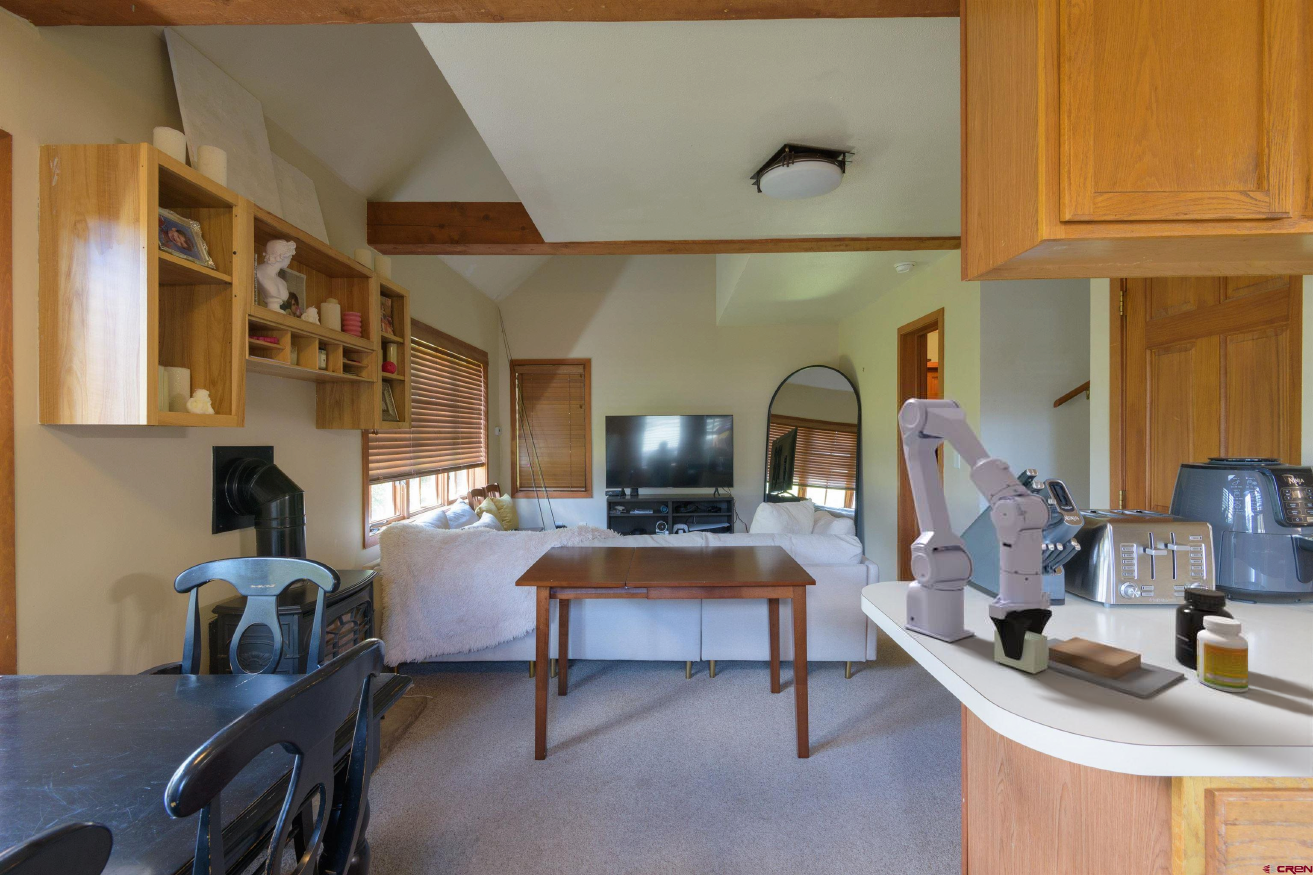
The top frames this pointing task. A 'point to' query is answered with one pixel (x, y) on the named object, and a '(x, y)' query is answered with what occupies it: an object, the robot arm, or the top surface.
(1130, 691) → the grey mat
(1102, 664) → the walnut base brick
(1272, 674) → the top surface
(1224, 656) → the supplement bottle
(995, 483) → the robot arm
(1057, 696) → the top surface
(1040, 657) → the sage brick
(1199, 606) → the supplement bottle
